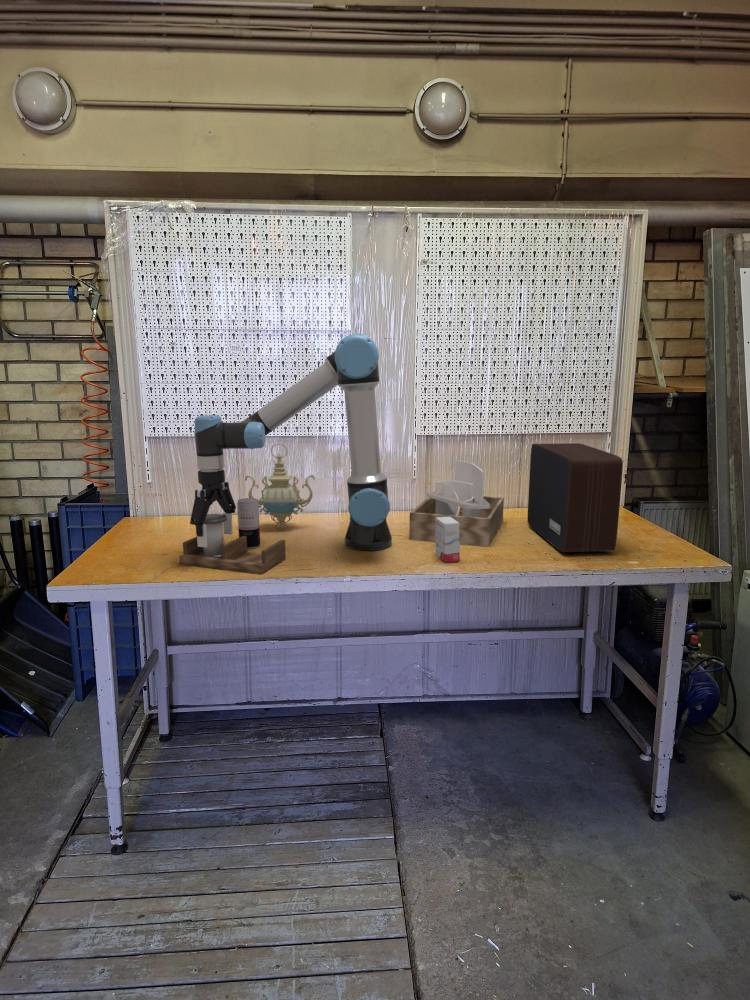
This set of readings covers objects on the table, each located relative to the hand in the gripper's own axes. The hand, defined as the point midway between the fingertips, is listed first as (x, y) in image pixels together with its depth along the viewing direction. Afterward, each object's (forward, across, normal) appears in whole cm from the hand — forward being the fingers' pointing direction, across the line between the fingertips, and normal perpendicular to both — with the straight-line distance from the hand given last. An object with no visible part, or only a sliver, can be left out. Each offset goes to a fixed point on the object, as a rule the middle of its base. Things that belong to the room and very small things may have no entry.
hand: (215, 540), depth 184 cm
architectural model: (+7, -54, +63) cm, 83 cm away
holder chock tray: (+6, -54, +62) cm, 82 cm away
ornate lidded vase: (+6, -36, +3) cm, 37 cm away
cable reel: (+5, 0, -1) cm, 5 cm away
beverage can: (+6, -14, +3) cm, 16 cm away
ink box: (+6, -22, +65) cm, 69 cm away
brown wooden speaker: (+7, -54, +99) cm, 113 cm away
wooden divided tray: (+6, +1, +6) cm, 8 cm away
